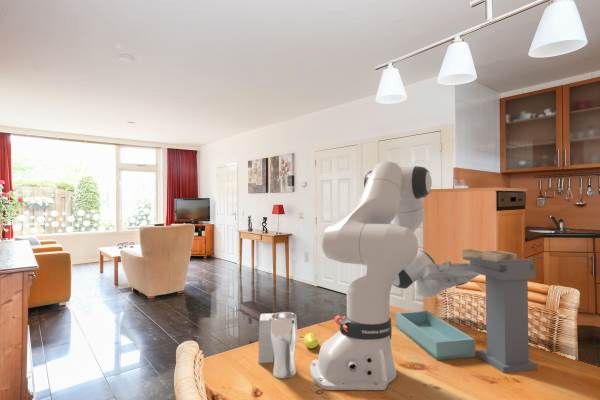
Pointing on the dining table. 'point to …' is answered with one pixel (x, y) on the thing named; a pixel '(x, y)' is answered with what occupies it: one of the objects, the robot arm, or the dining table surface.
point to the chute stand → (506, 313)
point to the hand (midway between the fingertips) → (462, 262)
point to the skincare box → (265, 339)
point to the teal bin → (435, 335)
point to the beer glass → (284, 343)
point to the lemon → (310, 340)
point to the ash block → (489, 255)
